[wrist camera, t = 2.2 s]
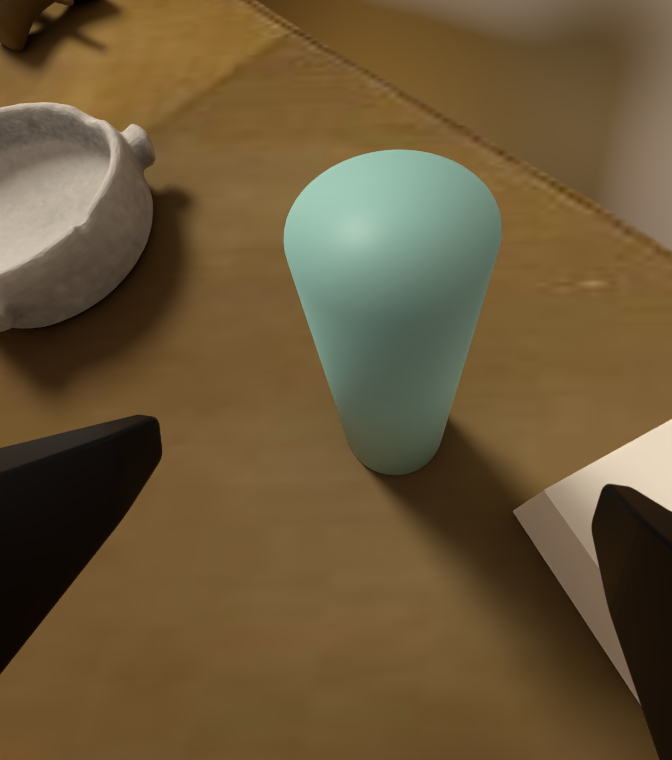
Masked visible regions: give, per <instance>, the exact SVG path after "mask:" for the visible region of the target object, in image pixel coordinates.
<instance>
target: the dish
mask: <svg viewBox="0 0 672 760" xmlns="http://www.w3.org/2000/svg"><path fill="white" fill-rule="evenodd" d="M154 161H155V152H154V149H153V145H152V142H151V139H150V137H149V135H148V134H147V133H146V132H145V131H144V130H143V129H142V128H141V127H139V126H137V125H134V124H130V125H129V126H128V128H127V129H126V130H124V131H123V132H119V131H118V130H116V129H115V128H114V127H113V126H112V125H110V124H109V123H108V122H107V121H105V120H98V119H96V118H93V117H91V116H89V115H88V114H86V113H84V112H82V111H80V110H78V109H77V108H75V107H73V106H70V105H66V104H64V105H63V104H57V103H45V102H41V103H26V104H21V103H20V104H17V105H13V106H8V107H1V108H0V332H2V331H6V330H9V329H10V328H23V329H25V328H38V327H45V326H49V325H52V324H56V323H58V322H61V321H64V320H66V319H69V318H71V317H73V316H75V315H77V314H79V313H81V312H83V311H85V310H86V309H88V308H90V307H91V306H93V305H95V304H96V303H97V302H99V301H100V300H102V299H103V298H104V297H106V296H107V295H108V294H109V293H110V292H111V291H113V290H114V289H115V288H116V287H117V286H118V284H119V283H120V282H121V281H122V280H123V279H124V278H125V277H126V276H127V274H128V273H129V272H130V271H131V269H132V268H133V267H134V265H135V264H136V262H137V261H138V259H139V257H140V255H141V253H142V252H143V250H144V248H145V246H146V243H147V241H148V237H149V234H150V230H151V225H152V218H153V201H152V196H151V192H150V189H149V187H148V185H147V182H146V180H145V178H144V174H143V173H144V170H145V169H146V168H147V167H150V166H151V165H153V164H154Z"/></svg>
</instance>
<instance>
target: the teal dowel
mask: <svg viewBox="0 0 672 760" xmlns="http://www.w3.org/2000/svg"><path fill="white" fill-rule="evenodd" d="M501 237H502V221H501V216H500V211H499V208H498V206H497V203H496V200H495V199H494V197H493V195H492V194H491V192H490V190H489V189H488V188H487V187H486V185H485V184H484V183H483V182H482V181H481V180H480V179H479V178H478V177H477V176H476V175H475V174H473V173H472V172H471V171H469V170H468V169H466V168H465V167H463V166H462V165H460V164H458V163H456V162H454V161H452V160H449V159H447V158H444V157H442V156H438V155H435V154H431V153H427V152H421V151H414V150H386V151H377V152H372V153H367V154H363V155H360V156H356V157H353V158H351V159H348V160H346V161H343V162H341V163H339V164H337V165H335V166H333V167H331V168H330V169H328V170H327V171H325V172H323V173H322V174H320V175H319V176H318V177H317V178H316V179H314V180H313V181H312V182H311V183H310V184H309V185H308V186H307V187H306V188H305V189H304V190H303V191H302V192H301V194H300V195H299V196H298V198H297V199H296V201H295V203H294V204H293V206H292V208H291V210H290V212H289V215H288V217H287V220H286V225H285V229H284V248H285V254H286V258H287V261H288V264H289V267H290V270H291V273H292V276H293V279H294V282H295V285H296V288H297V291H298V294H299V297H300V300H301V303H302V306H303V309H304V312H305V315H306V318H307V321H308V324H309V327H310V330H311V333H312V336H313V339H314V342H315V345H316V348H317V351H318V354H319V357H320V360H321V363H322V366H323V369H324V372H325V375H326V378H327V381H328V384H329V387H330V389H331V392H332V395H333V398H334V401H335V404H336V407H337V410H338V413H339V416H340V419H341V422H342V425H343V428H344V431H345V434H346V437H347V440H348V443H349V446H350V448H351V450H352V452H353V453H354V455H355V456H356V457H357V459H358V460H359V461H360V462H361V463H362V464H364V465H365V466H366V467H368V468H369V469H371V470H373V471H376V472H378V473H381V474H386V475H404V474H408V473H412V472H414V471H416V470H419V469H420V468H422V467H423V466H425V465H426V464H427V463H428V462H429V461H430V460H431V459H432V458H433V457H434V455H435V454H436V452H437V450H438V448H439V446H440V443H441V440H442V437H443V433H444V430H445V427H446V423H447V420H448V417H449V413H450V410H451V407H452V404H453V400H454V397H455V394H456V390H457V387H458V384H459V380H460V377H461V374H462V370H463V367H464V364H465V360H466V357H467V354H468V350H469V347H470V344H471V340H472V337H473V334H474V330H475V327H476V324H477V320H478V317H479V314H480V311H481V307H482V304H483V301H484V297H485V294H486V291H487V287H488V284H489V281H490V277H491V274H492V271H493V267H494V264H495V261H496V257H497V254H498V251H499V247H500V243H501Z"/></svg>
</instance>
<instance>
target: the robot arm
mask: <svg viewBox="0 0 672 760" xmlns="http://www.w3.org/2000/svg"><path fill="white" fill-rule="evenodd" d="M161 456H162V443H161V435H160V426H159V422H158V420H157V419H156V418H155V417H152V416H145V415H134V416H130V417H126V418H122V419H118V420H114V421H110V422H106V423H102V424H97V425H93V426H89V427H85V428H81V429H77V430H73V431H69V432H65V433H60V434H56V435H52V436H48V437H44V438H40V439H36V440H32V441H28V442H23V443H19V444H15V445H11V446H7V447H3V448H0V674H1V673H2V671H3V670H4V669H5V668H6V666H7V665H8V664H9V663H10V661H11V660H12V659H13V658H14V656H15V655H16V654H17V652H18V651H19V650H20V649H21V647H22V646H23V645H24V644H25V642H26V641H27V640H28V639H29V637H30V636H31V635H32V633H33V632H34V631H35V630H36V628H37V627H38V626H39V625H40V623H41V622H42V621H43V620H44V618H45V617H46V616H47V614H48V613H49V612H50V611H51V609H52V608H53V607H54V606H55V604H56V603H57V602H58V601H59V599H60V598H61V597H62V595H63V594H64V593H65V592H66V590H67V589H68V588H69V587H70V585H71V584H72V583H73V581H74V580H75V579H76V578H77V576H78V575H79V574H80V573H81V571H82V570H83V569H84V568H85V566H86V565H87V564H88V562H89V561H90V560H91V559H92V557H93V556H94V555H95V554H96V552H97V551H98V550H99V549H100V547H101V546H102V545H103V543H104V542H105V541H106V540H107V538H108V537H109V536H110V535H111V533H112V532H113V531H114V530H115V528H116V527H117V526H118V524H119V523H120V522H121V520H122V519H123V518H124V516H125V515H126V513H127V512H128V510H129V509H130V507H131V506H132V504H133V503H134V501H135V500H136V498H137V497H138V495H139V493H140V492H141V490H142V489H143V487H144V486H145V484H146V482H147V481H148V479H149V478H150V476H151V475H152V473H153V471H154V470H155V468H156V467H157V465H158V464H159V462H160V459H161ZM591 530H592V537H593V541H594V546H595V551H596V555H597V560H598V565H599V569H600V574H601V579H602V583H603V588H604V593H605V597H606V601H607V605H608V609H609V613H610V616H611V619H612V622H613V625H614V628H615V631H616V634H617V637H618V640H619V643H620V646H621V649H622V652H623V654H624V657H625V660H626V663H627V666H628V669H629V672H630V675H631V678H632V681H633V684H634V687H635V689H636V692H637V695H638V698H639V701H640V704H641V707H642V710H643V713H644V716H645V719H646V722H647V724H648V727H649V730H650V733H651V736H652V739H653V742H654V745H655V748H656V751H657V754H658V757H659V759H660V760H672V512H671V511H670V510H668V509H666V508H665V507H663V506H661V505H660V504H658V503H657V502H655V501H653V500H652V499H650V498H648V497H647V496H645V495H643V494H642V493H640V492H639V491H637V490H635V489H634V488H632V487H629V486H623V485H616V484H606V485H605V486H604V487H603V488H602V490H601V493H600V496H599V499H598V503H597V506H596V509H595V513H594V516H593V519H592V525H591Z"/></svg>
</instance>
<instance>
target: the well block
mask: <svg viewBox="0 0 672 760" xmlns="http://www.w3.org/2000/svg"><path fill="white" fill-rule="evenodd" d="M606 484H616V485H623V486H629V487H632V488H634V489H635V490H637V491H639V492H640V493H642V494H643V495H645V496H647V497H648V498H650V499H652V500H653V501H655V502H657V503H658V504H660V505H661V506H663V507H665V508H666V509H668V510H670V511H671V512H672V419H671V420H669V421H668V422H666V423H664V424H662V425H660V426H659V427H657V428H655V429H653V430H651V431H650V432H648V433H646V434H644V435H642V436H641V437H639V438H637V439H635V440H633V441H632V442H630V443H628V444H626V445H624V446H622V447H621V448H619V449H617V450H615V451H613V452H612V453H610V454H608V455H606V456H604V457H603V458H601V459H599V460H597V461H595V462H594V463H592V464H590V465H588V466H586V467H584V468H583V469H581V470H579V471H577V472H575V473H574V474H572V475H570V476H568V477H566V478H565V479H563V480H561V481H559V482H557V483H556V484H554V485H552V486H550V487H548V488H546V489H545V490H543V491H542V492H540V493H539V494H537V495H536V496H534V497H533V498H531V499H530V500H528V501H527V502H525V503H524V504H522V505H521V506H519V507H518V508H516V509H515V510H513V513H514V514H515V516H516V517H517V519H518V521H519V522H520V524H521V525H522V527H523V528H524V530H525V531H526V533H527V534H528V536H529V537H530V539H531V540H532V542H533V543H534V545H535V546H536V548H537V549H538V551H539V552H540V554H541V555H542V557H543V558H544V560H545V561H546V563H547V564H548V566H549V567H550V569H551V571H552V572H553V574H554V575H555V577H556V578H557V580H558V581H559V583H560V584H561V586H562V587H563V589H564V590H565V592H566V593H567V595H568V596H569V598H570V599H571V601H572V602H573V604H574V605H575V607H576V608H577V610H578V611H579V613H580V614H581V616H582V617H583V619H584V620H585V622H586V624H587V625H588V627H589V628H590V630H591V631H592V633H593V634H594V636H595V637H596V639H597V640H598V642H599V643H600V645H601V646H602V648H603V649H604V651H605V652H606V654H607V655H608V657H609V658H610V660H611V661H612V663H613V664H614V666H615V667H616V669H617V670H618V672H619V674H620V675H621V677H622V678H623V680H624V681H625V683H626V684H627V686H628V687H629V689H630V690H631V692H632V693H633V695H634V696H635V698H636V699H637V701H638V702H639V704H640V701H639V698H638V695H637V692H636V689H635V687H634V684H633V681H632V678H631V675H630V672H629V669H628V666H627V663H626V660H625V657H624V654H623V652H622V649H621V646H620V643H619V640H618V637H617V634H616V631H615V628H614V625H613V622H612V619H611V616H610V613H609V609H608V605H607V601H606V597H605V593H604V588H603V583H602V579H601V574H600V569H599V565H598V560H597V555H596V551H595V546H594V541H593V537H592V530H591V525H592V519H593V516H594V513H595V509H596V506H597V503H598V499H599V496H600V493H601V490H602V488H603V487H604V486H605V485H606ZM640 705H641V704H640Z"/></svg>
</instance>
